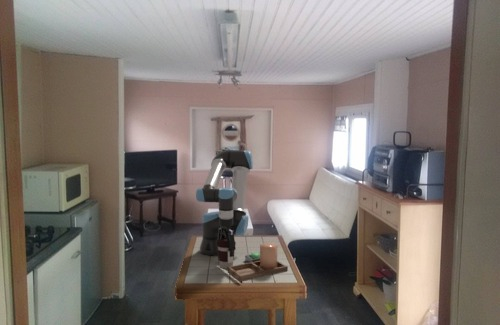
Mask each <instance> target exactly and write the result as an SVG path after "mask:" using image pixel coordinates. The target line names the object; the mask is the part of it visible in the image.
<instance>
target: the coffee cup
mask: <svg viewBox="0 0 500 325" xmlns="http://www.w3.org/2000/svg"><path fill="white" fill-rule="evenodd" d="M236 245H237V243H236V241H235V246H236ZM217 246H218V255H217V256H218V257H217V258H218V264H219V268H220V269H222V270H226V269H225V268H228V267H230V266H234V261H235V260H234V259H235V250H233V262H231V263H228V250H229V248H228V244H227V239H226V238H221V239H220V240H219V241H217Z"/></svg>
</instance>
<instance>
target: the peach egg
mask: <svg viewBox="0 0 500 325" xmlns="http://www.w3.org/2000/svg"><path fill="white" fill-rule="evenodd" d="M278 246H279V245H278V244H276V243H272V242H264V243H261V244H259V254H260V268H262V269H263V270H269V269H274V268H277V261H278V254H279V253H278V250H279V249H278Z"/></svg>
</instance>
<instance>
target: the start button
mask: <svg viewBox="0 0 500 325" xmlns="http://www.w3.org/2000/svg"><path fill="white" fill-rule="evenodd" d="M250 254H251V258H253V259H255V258H260V252H251V253H250Z"/></svg>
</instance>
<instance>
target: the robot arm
mask: <svg viewBox="0 0 500 325" xmlns="http://www.w3.org/2000/svg"><path fill="white" fill-rule="evenodd" d="M210 166H211V167H210V169H209V172H208V175H207V176H206V179H205V182H204V184H203V187H200V188H197V189H196V192H195V198H196V199H195V200H196V201H197V202H200V203H218V211H210V212H207V213H204V214H203V215H202V222H201V223H202V224H201V225H202V226H201V227H202V229H201V230H202V232H201V233H202V239H201V243H200V244H199V245H200V246H199V253H200V254H202V255H206V256H218V246H217V241H219V240H220V239H221V238H226V239H227V244H228V248H229V250H228V263H231V262H233V263H234V260H233V250H236V245H235V242H236V241H235V236H237V237H238V236H244V235H245V234H246V233H247V230H248V226H249V216H248V215H247V212H246V211H245V200H246V192H247V191H246V189H247V180H248V174H249V173H250V171H251V170H253V166H254V165H253V155H252V151H250V150H244V149H243V150H242V149H241V150H231V149H230V150H229V149H228V150H227V149H226V150H222V151H221V152H219V153H218V154H217V155H215V156H214V158H213V159H212V161H211V163H210ZM226 169H230V171H231V172H232V181H231V187H221V188H218V186H219V184H220V180H221V178H222V177H223V176H222V175H223V172H225V171H226Z"/></svg>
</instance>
